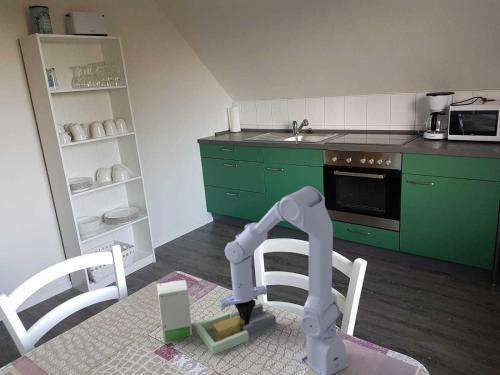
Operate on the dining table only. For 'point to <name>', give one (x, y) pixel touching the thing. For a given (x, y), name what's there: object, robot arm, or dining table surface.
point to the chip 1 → (222, 330)
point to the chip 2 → (236, 324)
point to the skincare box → (174, 310)
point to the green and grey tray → (255, 328)
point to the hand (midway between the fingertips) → (245, 322)
